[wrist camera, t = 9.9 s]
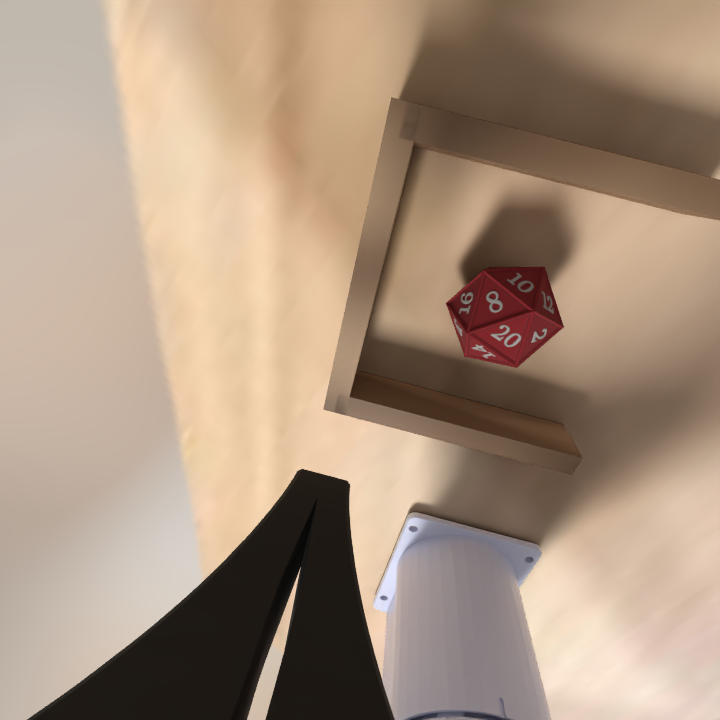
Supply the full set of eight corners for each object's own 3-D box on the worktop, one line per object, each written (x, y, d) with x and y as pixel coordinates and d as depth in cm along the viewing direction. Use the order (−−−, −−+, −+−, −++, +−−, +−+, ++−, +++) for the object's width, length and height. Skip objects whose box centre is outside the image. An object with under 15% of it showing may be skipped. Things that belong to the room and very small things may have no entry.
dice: (426, 315, 17) (429, 352, 14) (493, 229, 16) (517, 246, 12) (491, 359, 18) (510, 406, 14) (564, 281, 16) (607, 313, 13)
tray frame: (553, 439, 19) (572, 474, 17) (333, 382, 20) (323, 409, 17) (702, 185, 14) (756, 189, 12) (395, 108, 14) (391, 97, 12)
